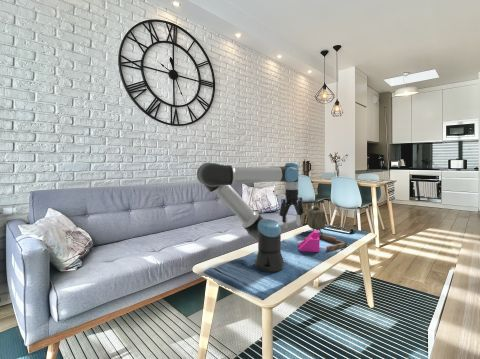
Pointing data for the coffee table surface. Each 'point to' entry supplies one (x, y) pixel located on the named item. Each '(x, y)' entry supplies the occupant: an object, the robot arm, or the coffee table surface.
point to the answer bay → (337, 245)
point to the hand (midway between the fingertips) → (291, 226)
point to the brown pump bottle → (316, 218)
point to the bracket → (310, 242)
